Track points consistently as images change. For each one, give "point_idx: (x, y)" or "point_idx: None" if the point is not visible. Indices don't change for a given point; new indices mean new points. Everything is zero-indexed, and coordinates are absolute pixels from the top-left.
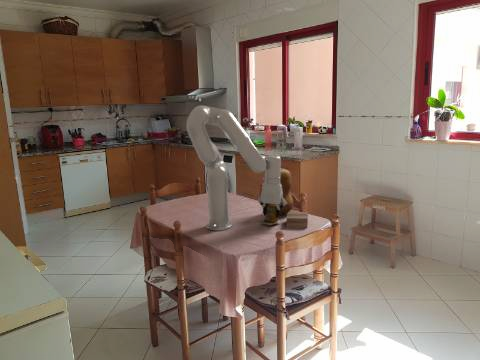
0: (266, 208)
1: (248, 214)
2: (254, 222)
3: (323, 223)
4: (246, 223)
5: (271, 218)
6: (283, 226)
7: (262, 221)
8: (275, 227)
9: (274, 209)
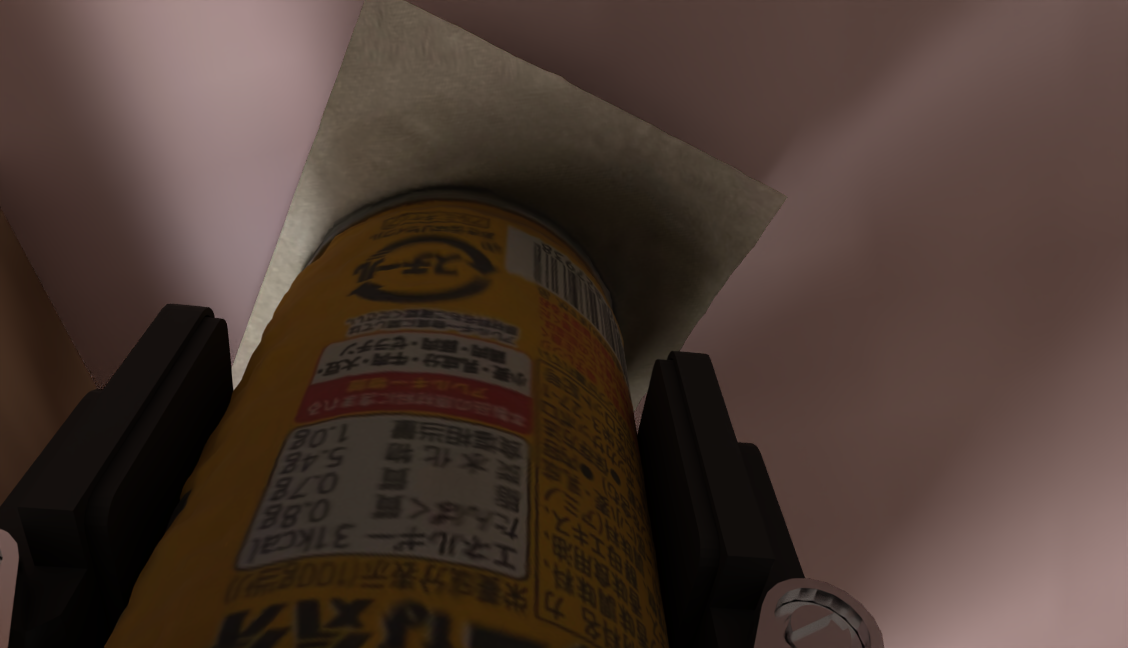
0: (643, 573)
1: (1046, 644)
2: (904, 284)
3: None
4: (1109, 168)
5: (396, 253)
6: (86, 189)
7: (697, 216)
8: (261, 53)
9: (196, 521)
